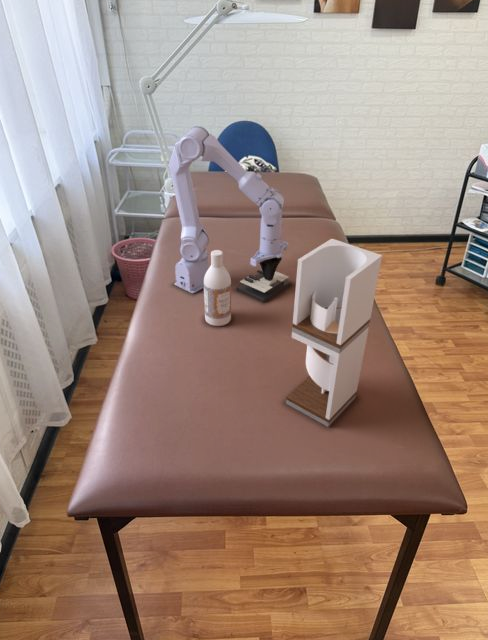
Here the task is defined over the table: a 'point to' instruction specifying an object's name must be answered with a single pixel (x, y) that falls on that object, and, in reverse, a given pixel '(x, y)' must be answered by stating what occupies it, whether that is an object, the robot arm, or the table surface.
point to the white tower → (332, 325)
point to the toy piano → (261, 295)
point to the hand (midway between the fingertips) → (268, 279)
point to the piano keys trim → (262, 287)
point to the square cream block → (268, 281)
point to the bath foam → (217, 291)
